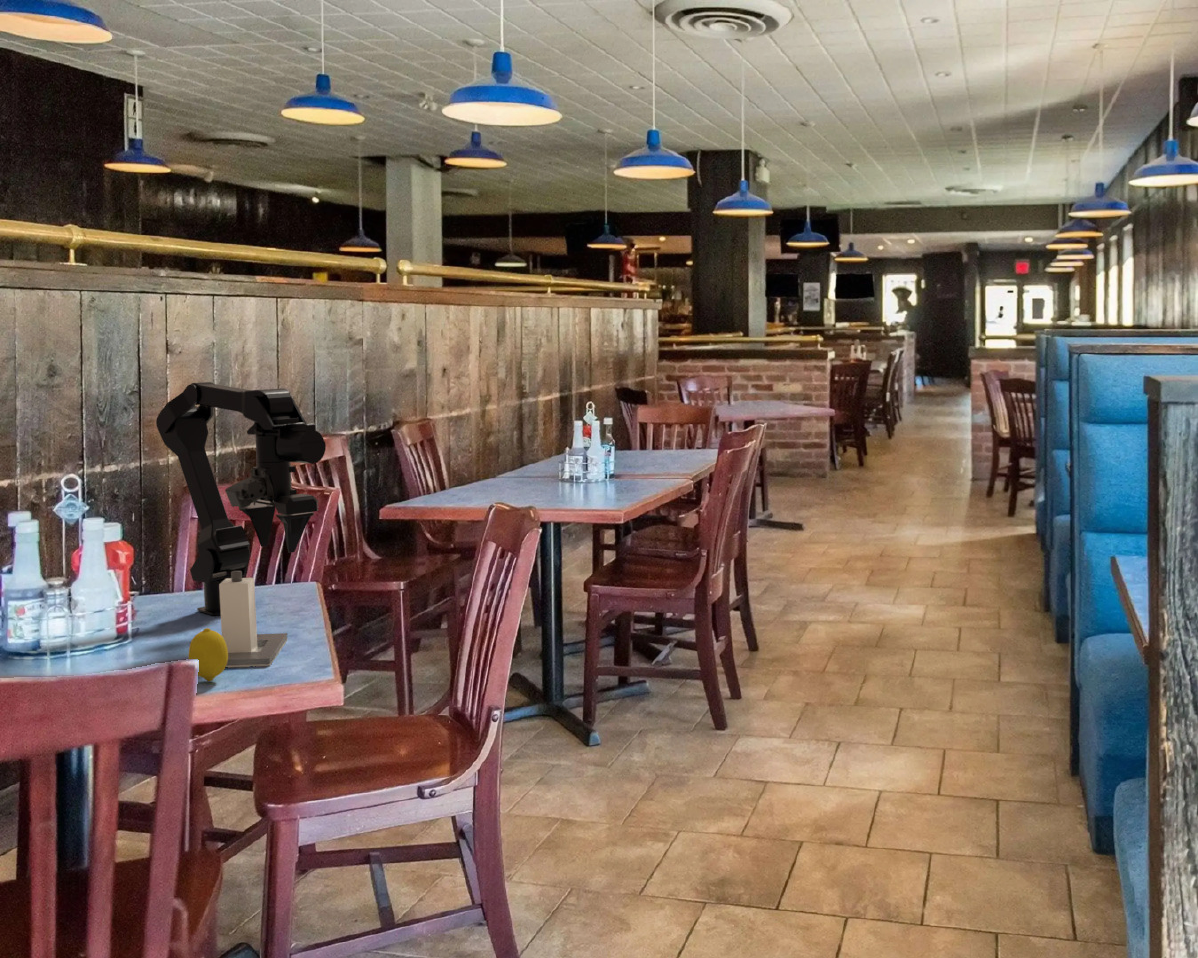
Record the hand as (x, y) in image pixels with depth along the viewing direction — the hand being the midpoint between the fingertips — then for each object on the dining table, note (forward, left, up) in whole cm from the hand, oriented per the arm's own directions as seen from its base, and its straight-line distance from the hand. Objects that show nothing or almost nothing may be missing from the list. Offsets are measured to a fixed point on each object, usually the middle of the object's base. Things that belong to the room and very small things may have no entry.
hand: (277, 549), depth 217 cm
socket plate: (+15, -16, -13) cm, 25 cm away
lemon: (+26, -27, -13) cm, 40 cm away
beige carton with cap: (+15, -16, -13) cm, 25 cm away
